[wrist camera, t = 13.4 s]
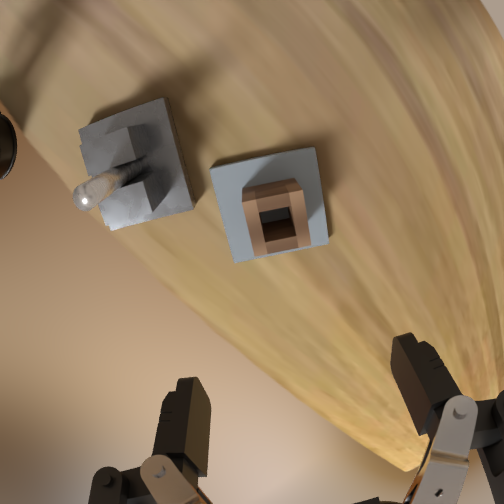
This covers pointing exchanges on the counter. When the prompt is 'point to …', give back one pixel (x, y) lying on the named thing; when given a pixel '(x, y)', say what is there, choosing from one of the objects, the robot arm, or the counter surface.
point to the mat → (261, 172)
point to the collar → (281, 231)
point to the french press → (7, 146)
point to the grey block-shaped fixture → (134, 167)
